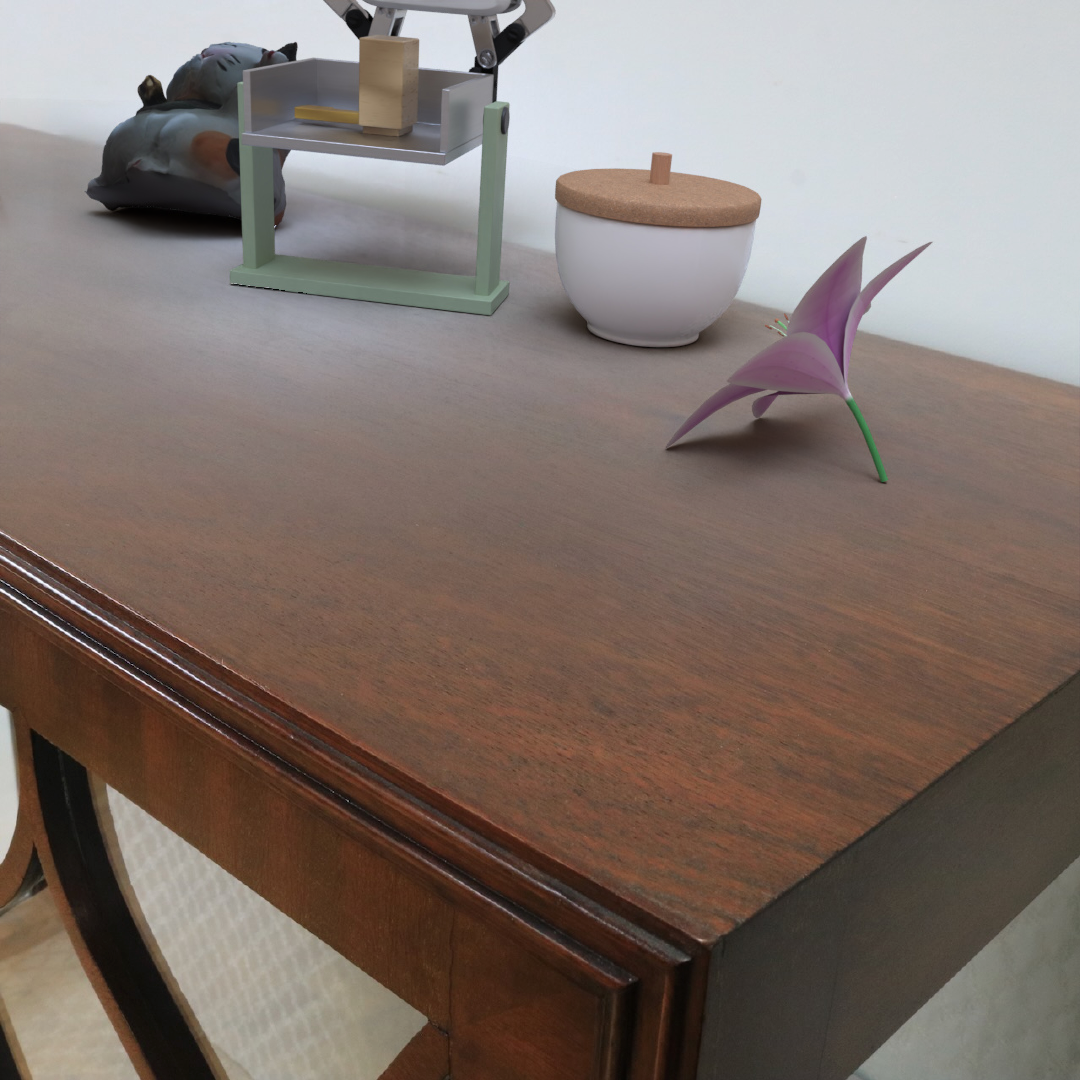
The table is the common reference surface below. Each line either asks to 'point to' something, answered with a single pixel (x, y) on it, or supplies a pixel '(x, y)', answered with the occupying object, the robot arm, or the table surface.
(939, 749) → the table surface
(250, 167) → the bracket
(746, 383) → the lily
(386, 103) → the tan blocky wooden piece
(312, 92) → the shallow metal tray
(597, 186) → the trinket box
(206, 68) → the lucky cat figurine
